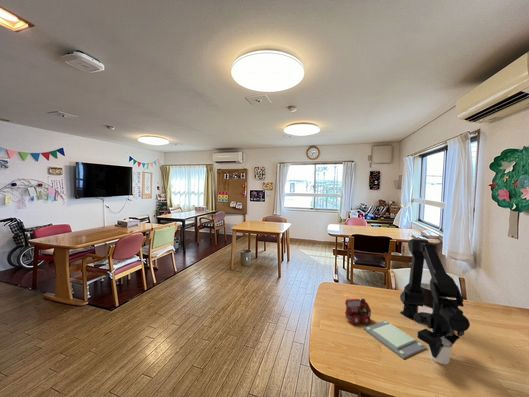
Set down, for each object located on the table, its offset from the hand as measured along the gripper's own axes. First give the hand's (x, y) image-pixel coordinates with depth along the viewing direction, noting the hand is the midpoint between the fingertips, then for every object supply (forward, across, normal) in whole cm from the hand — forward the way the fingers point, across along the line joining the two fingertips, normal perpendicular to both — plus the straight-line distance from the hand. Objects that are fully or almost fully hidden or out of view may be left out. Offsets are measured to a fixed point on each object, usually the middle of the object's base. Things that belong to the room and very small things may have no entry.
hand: (439, 354), depth 82 cm
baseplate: (+2, +6, -14) cm, 15 cm away
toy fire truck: (+2, +10, -29) cm, 31 cm away
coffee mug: (+2, -36, -24) cm, 43 cm away
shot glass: (+2, 0, 0) cm, 2 cm away
